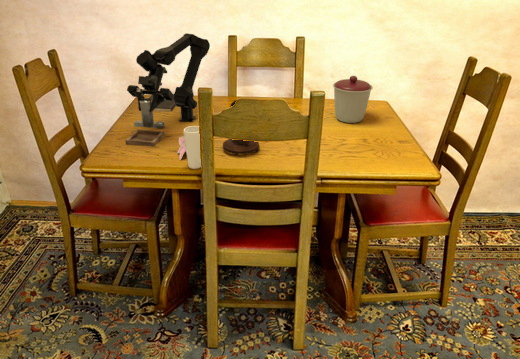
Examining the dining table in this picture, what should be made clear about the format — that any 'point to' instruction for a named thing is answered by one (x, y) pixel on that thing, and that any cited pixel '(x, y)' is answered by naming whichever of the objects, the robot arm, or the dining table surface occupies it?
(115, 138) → the dining table surface
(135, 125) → the grey ratchet handle
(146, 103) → the polished metal cylinder
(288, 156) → the dining table surface
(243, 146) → the dark round disc base
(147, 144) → the taupe tray
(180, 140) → the lily
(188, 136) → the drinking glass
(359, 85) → the canister
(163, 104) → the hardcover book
